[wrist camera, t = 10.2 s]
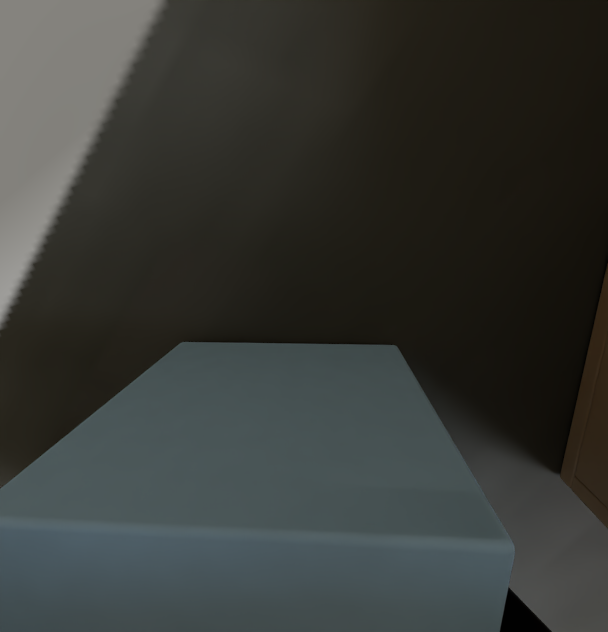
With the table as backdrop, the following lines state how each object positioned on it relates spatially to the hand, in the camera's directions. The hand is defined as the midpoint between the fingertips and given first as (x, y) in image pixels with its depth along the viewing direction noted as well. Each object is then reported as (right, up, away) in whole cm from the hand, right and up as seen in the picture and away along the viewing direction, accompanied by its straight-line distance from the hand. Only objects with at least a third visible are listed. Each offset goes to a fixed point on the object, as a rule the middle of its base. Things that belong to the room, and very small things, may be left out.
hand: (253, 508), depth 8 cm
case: (+1, 0, +1) cm, 1 cm away
